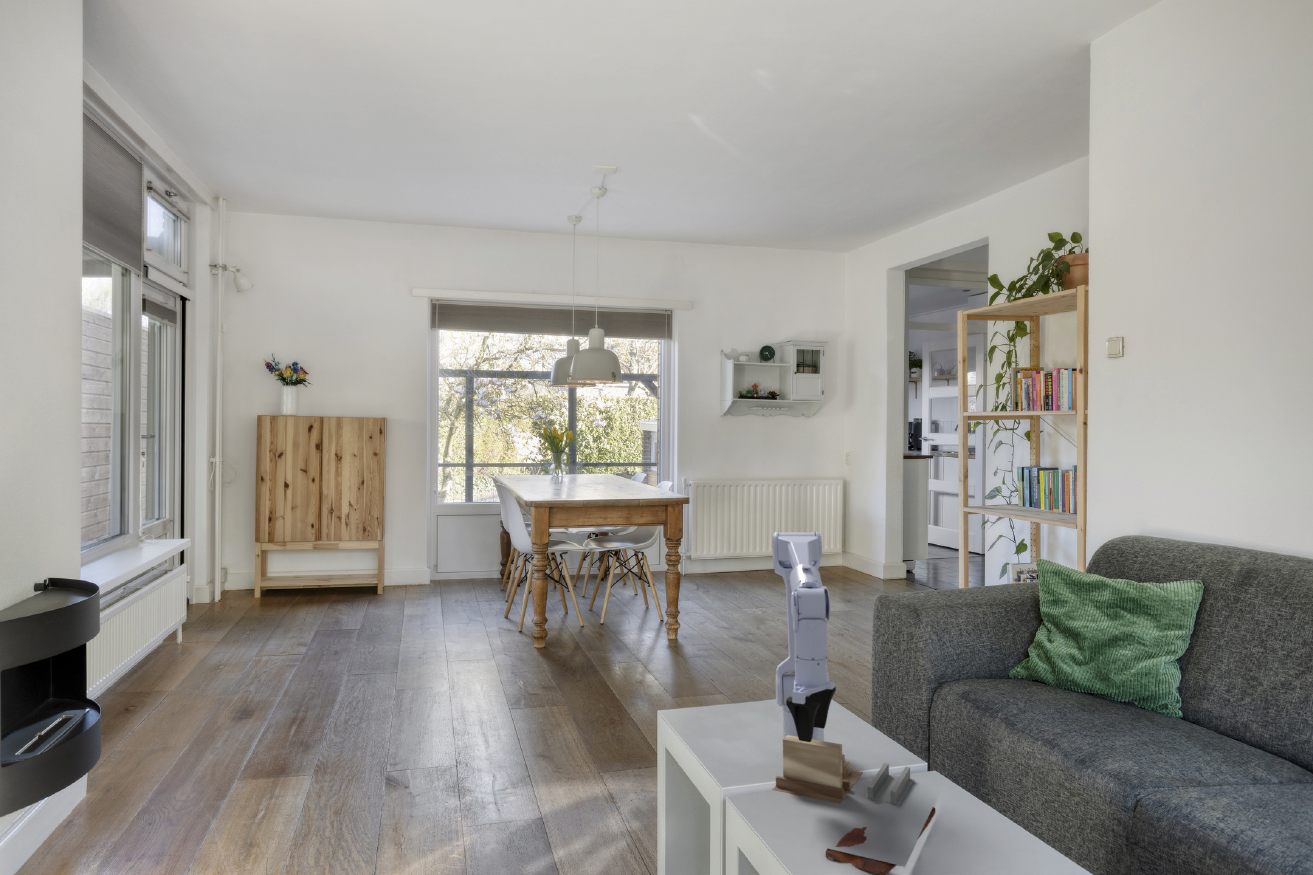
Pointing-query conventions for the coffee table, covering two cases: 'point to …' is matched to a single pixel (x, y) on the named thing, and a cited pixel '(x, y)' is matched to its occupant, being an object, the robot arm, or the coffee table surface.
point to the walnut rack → (817, 787)
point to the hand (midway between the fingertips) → (812, 733)
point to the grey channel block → (889, 786)
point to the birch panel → (813, 761)
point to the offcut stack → (845, 767)
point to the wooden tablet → (858, 861)
